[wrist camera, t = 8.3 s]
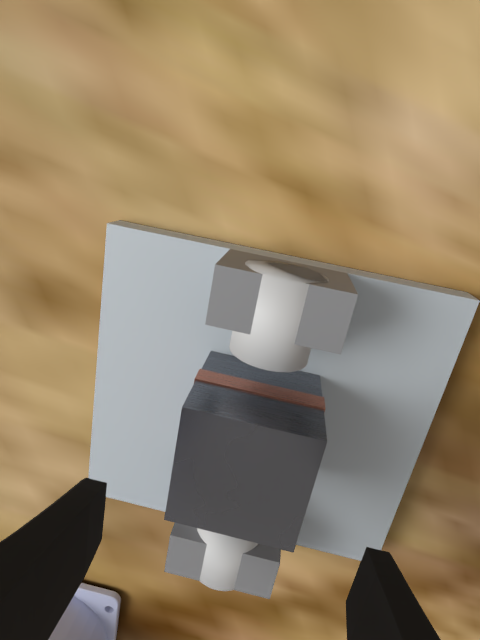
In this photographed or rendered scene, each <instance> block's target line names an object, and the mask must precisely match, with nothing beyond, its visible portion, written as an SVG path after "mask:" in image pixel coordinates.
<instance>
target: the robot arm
mask: <svg viewBox="0 0 480 640" xmlns="http://www.w3.org/2000/svg"><path fill="white" fill-rule="evenodd" d="M106 489H107V483H105V482H101V481H97V480H93V479H89V478H85V479H83V480H81V481H80V482H79V483H78V484H77V485H75V486H74V487H73V488H72V489H70V490H69V491H68V492H67V493H65V494H64V495H63V496H62V497H60V498H59V499H58V500H57V501H55V502H54V503H53V504H51V505H50V506H49V507H48V508H46V509H45V510H44V511H42V512H41V513H40V514H38V515H37V516H36V517H34V518H33V519H32V520H30V521H29V522H28V523H26V524H25V525H24V526H22V527H21V528H20V529H18V530H17V531H16V532H14V533H13V534H11V535H10V536H8V537H7V538H6V539H4V540H3V541H1V542H0V640H116V636H117V628H118V619H119V611H120V603H121V597H120V596H119V594H118V593H117V592H115V591H111V590H108V589H104V588H100V587H96V586H93V585H89V584H85V583H81V582H82V581H83V579H84V577H85V575H86V573H87V571H88V568H89V566H90V564H91V562H92V560H93V558H94V555H95V553H96V551H97V549H98V546H99V544H100V542H101V540H102V531H103V520H104V510H105V499H106ZM346 620H347V640H440V638H439V636H438V635H437V633H436V631H435V630H434V628H433V627H432V625H431V623H430V622H429V620H428V618H427V617H426V615H425V613H424V612H423V610H422V608H421V606H420V605H419V603H418V601H417V600H416V598H415V596H414V594H413V593H412V591H411V589H410V587H409V586H408V584H407V582H406V580H405V579H404V577H403V575H402V573H401V571H400V570H399V568H398V566H397V564H396V563H395V561H394V559H393V557H392V556H391V554H390V553H389V552H385V551H381V550H377V549H373V548H369V547H366V550H365V552H364V555H363V558H362V560H361V563H360V565H359V568H358V571H357V573H356V576H355V579H354V581H353V584H352V587H351V589H350V592H349V595H348V597H347V600H346Z"/></svg>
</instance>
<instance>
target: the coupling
mask: <svg viewBox="0 0 480 640" xmlns="http://www.w3.org/2000/svg"><path fill="white" fill-rule="evenodd" d="M325 409H326V408H325V399H324V397H322V389H321V380H320V375H317V374H312V373H308V372H303V371H299V370H298V371H294V372H275V371H268V370H264V369H260V368H257V367H254V366H251V365H249V364H247V363H245V362H243V361H241V360H239V359H238V358H237V357H235V356H233V355H228V354H224V353H219V352H215V351H210V353H209V355H208V357H207V359H206V361H205V363H204V365H203V367H202V369H199V371H198V373H197V375H196V377H195V379H194V385H193V387H192V389H191V391H190V393H189V394H188V396H187V398H186V400H185V402H184V404H183V406H182V410H181V417H180V423H179V429H178V435H177V442H176V448H175V454H174V461H173V467H172V473H171V480H170V486H169V492H168V499H167V505H166V511H165V518H164V520H168V521H171V522H175V523H179V524H183V525H187V526H191V527H195V528H199V529H203V530H207V531H211V532H215V533H219V534H223V535H227V536H230V537H234V538H238V539H242V540H246V541H250V542H254V543H258V544H262V545H266V546H270V547H274V548H278V549H282V550H286V551H290V552H294V549H295V546H296V543H297V539H298V536H299V533H300V529H301V526H302V523H303V520H304V516H305V513H306V510H307V507H308V503H309V500H310V497H311V493H312V490H313V487H314V484H315V480H316V477H317V474H318V471H319V467H320V464H321V461H322V457H323V454H324V451H325V448H326V444H327V434H326V425H325V416H324V412H325Z"/></svg>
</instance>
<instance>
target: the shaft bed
mask: <svg viewBox="0 0 480 640" xmlns="http://www.w3.org/2000/svg"><path fill="white" fill-rule="evenodd" d="M479 302H480V300H478V299H477V298H475V297H474V296H472V295H471V294H469V293H468V292H464V291H459V290H454V289H449V288H444V287H440V286H435V285H430V284H425V283H420V282H415V281H411V280H406V279H401V278H396V277H391V276H386V275H382V274H377V273H372V272H367V271H362V270H357V269H353V268H348V267H343V266H338V265H333V264H328V263H324V262H319V261H314V260H309V259H304V258H299V257H295V256H290V255H285V254H280V253H275V252H270V251H266V250H261V249H256V248H251V247H246V246H241V245H237V244H232V243H227V242H222V241H217V240H212V239H208V238H203V237H198V236H193V235H188V234H183V233H179V232H174V231H169V230H164V229H159V228H155V227H150V226H145V225H140V224H135V223H130V222H126V221H121V220H119V221H115V222H110V223H107V231H106V245H105V259H104V272H103V286H102V300H101V314H100V327H99V341H98V355H97V368H96V382H95V396H94V409H93V423H92V437H91V451H90V464H89V479H93V480H97V481H101V482H105V483H107V489H106V497H109V498H113V499H117V500H121V501H125V502H129V503H133V504H136V505H140V506H144V507H148V508H152V509H156V510H160V511H164V512H165V511H166V505H167V499H168V492H169V486H170V480H171V473H172V467H173V461H174V454H175V448H176V442H177V435H178V429H179V423H180V417H181V410H182V406H183V404H184V402H185V400H186V398H187V396H188V394H189V393H190V391H191V389H192V387H193V385H194V379H195V377H196V375H197V373H198V371H199V369H202V367H203V365H204V363H205V361H206V359H207V357H208V355H209V353H210V351H215V352H219V353H224V354H228V355H233V356H235V357H237V358H238V359H239V360H241V361H243V362H245V363H247V364H249V365H251V366H254V367H257V368H260V369H264V370H268V371H275V372H294V371H298V370H299V371H303V372H308V373H312V374H317V375H320V380H321V389H322V397H324V399H325V408H326V409H325V412H324V416H325V425H326V434H327V444H326V448H325V451H324V454H323V457H322V461H321V464H320V467H319V471H318V474H317V477H316V480H315V484H314V487H313V490H312V493H311V497H310V500H309V503H308V507H307V510H306V513H305V516H304V520H303V523H302V526H301V529H300V533H299V536H298V539H297V543H296V545H300V546H304V547H308V548H312V549H316V550H320V551H323V552H327V553H331V554H335V555H339V556H343V557H347V558H351V559H355V560H359V561H361V560H362V558H363V555H364V552H365V550H366V547H369V548H373V549H377V550H381V549H382V546H383V544H384V541H385V539H386V536H387V533H388V531H389V528H390V526H391V523H392V521H393V518H394V516H395V513H396V511H397V508H398V506H399V503H400V501H401V498H402V496H403V493H404V491H405V488H406V486H407V483H408V481H409V478H410V476H411V473H412V471H413V468H414V465H415V463H416V460H417V458H418V455H419V453H420V450H421V448H422V445H423V443H424V440H425V438H426V435H427V433H428V430H429V428H430V425H431V423H432V420H433V418H434V415H435V413H436V410H437V408H438V405H439V402H440V400H441V397H442V395H443V392H444V390H445V387H446V385H447V382H448V380H449V377H450V375H451V372H452V370H453V367H454V365H455V362H456V360H457V357H458V355H459V352H460V350H461V347H462V345H463V342H464V340H465V337H466V334H467V332H468V329H469V327H470V324H471V322H472V319H473V317H474V314H475V312H476V309H477V307H478V304H479ZM280 553H281V549H278V548H274V547H270V546H266V545H262V544H258V543H254V542H250V541H246V540H242V539H238V538H234V537H230V536H227V535H223V534H219V533H215V532H211V531H207V530H203V529H199V528H195V527H191V526H187V525H183V524H179V523H175V524H174V526H173V529H172V532H171V535H170V541H169V547H168V553H167V559H166V565H165V571H164V572H168V573H171V574H175V575H179V576H183V577H187V578H191V579H194V580H198V581H200V582H201V583H203V584H204V585H206V586H207V587H209V588H212V589H215V590H219V591H230V590H237V591H240V592H244V593H248V594H252V595H256V596H260V597H263V598H267V599H270V596H271V592H272V589H273V585H274V582H275V579H276V575H277V572H278V568H279V565H280Z"/></svg>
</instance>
